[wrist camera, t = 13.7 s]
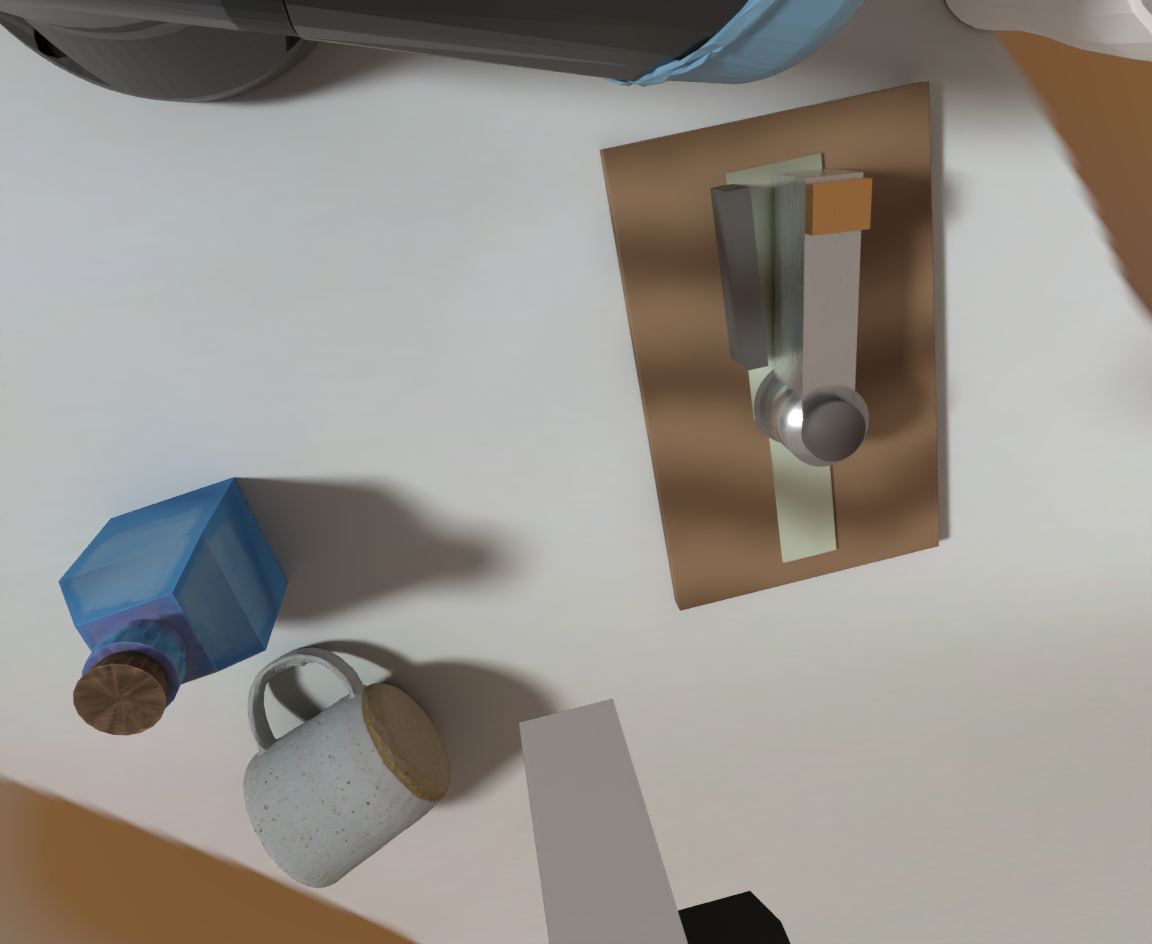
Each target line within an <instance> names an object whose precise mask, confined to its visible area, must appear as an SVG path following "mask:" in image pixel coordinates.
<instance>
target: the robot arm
mask: <svg viewBox="0 0 1152 944" xmlns="http://www.w3.org/2000/svg"><path fill="white" fill-rule="evenodd" d="M865 1H866V0H0V24H1V25H2V26H3V27H4V28H5V29H7V30H8V31H9V32H10V33H11V34H12V35H13V36H15V37H16V38H17V39H18V40H20V41H21V42H22V43H23V44H25V45H26V46H27V47H29V48H30V49H32V50H33V51H35V52H36V53H37V54H39V55H40V56H42V57H43V58H45V59H47V60H48V61H50V62H51V63H53V64H55V65H56V66H58V67H60V68H62V69H64V70H65V71H67V72H69V73H71V74H73V75H75V76H77V77H79V78H81V79H84V80H86V81H88V82H90V83H93V84H95V85H98V86H101V87H103V88H106V89H109V90H112V91H116V92H119V93H122V94H127V95H131V96H136V97H141V98H147V99H154V100H164V101H175V102H203V101H213V100H220V99H225V98H229V97H234V96H238V95H241V94H244V93H247V92H250V91H252V90H255V89H257V88H259V87H262V86H264V85H266V84H268V83H269V82H271V81H273V80H275V79H277V78H278V77H280V76H281V75H283V74H284V73H286V72H287V71H289V70H290V69H291V68H292V67H294V66H295V65H296V64H297V63H299V62H300V61H301V60H302V59H303V58H304V57H305V56H306V55H307V54H308V53H309V52H310V51H311V50H312V49H313V48H314V47H315V45H316V44H317V43H318V42H319V41H321V42H329V43H337V44H344V45H352V46H360V47H368V48H376V49H384V50H391V51H399V52H407V53H415V54H423V55H430V56H438V57H446V58H454V59H462V60H470V61H477V62H485V63H493V64H501V65H509V66H517V67H524V68H532V69H540V70H548V71H556V72H564V73H571V74H579V75H587V76H595V77H603V78H605V79H606V80H608V81H611V82H613V83H616V84H619V85H625V86H630V85H632V84H636V85H640V86H648V85H653V84H658V83H663V82H666V81H688V82H707V83H723V84H741V83H747V82H753V81H757V80H761V79H765V78H768V77H771V76H773V75H776V74H778V73H780V72H782V71H785V70H787V69H788V68H790V67H792V66H794V65H796V64H797V63H799V62H800V61H802V60H803V59H805V58H806V57H808V56H809V55H811V54H812V53H813V52H815V51H816V50H817V49H818V48H820V47H821V46H822V45H823V44H825V43H826V42H827V41H828V40H829V39H830V38H831V37H832V36H833V35H835V34H836V33H837V32H838V31H839V30H840V29H841V28H842V27H843V26H844V25H845V24H846V23H847V22H848V21H849V20H850V19H851V18H852V16H853V15H854V14H855V13H856V12H857V10H858V9H859V8H860V7H861V6H862V5H863V3H864V2H865ZM519 728H520V735H521V742H522V749H523V757H524V764H525V771H526V778H527V786H528V793H529V800H530V807H531V815H532V822H533V829H534V836H535V844H536V851H537V858H538V865H539V873H540V880H541V887H542V894H543V902H544V909H545V916H546V923H547V931H548V938H549V944H790V942H789V939H788V937H787V935H786V932H785V930H784V928H783V925H782V923H781V921H780V920H779V919H778V918H777V917H776V916H775V915H774V914H773V913H772V912H771V911H770V910H769V909H768V908H767V907H766V906H765V905H764V904H763V903H762V902H761V901H760V900H759V899H758V898H757V897H756V896H755V895H754V894H753V893H752V892H751V891H748V892H744V893H740V894H737V895H733V896H729V897H726V898H722V899H719V900H715V901H711V902H708V903H704V904H700V905H697V906H693V907H689V908H686V909H682V910H679V911H678V910H677V907H676V904H675V900H674V897H673V894H672V891H671V887H670V884H669V881H668V878H667V874H666V871H665V868H664V865H663V861H662V858H661V855H660V852H659V848H658V845H657V842H656V839H655V835H654V832H653V829H652V826H651V822H650V819H649V816H648V813H647V809H646V806H645V803H644V800H643V796H642V793H641V790H640V786H639V783H638V780H637V777H636V773H635V770H634V767H633V764H632V760H631V757H630V754H629V751H628V747H627V744H626V741H625V738H624V734H623V731H622V728H621V725H620V721H619V718H618V715H617V712H616V708H615V705H614V702H613V699H609V700H605V701H602V702H598V703H594V704H590V705H586V706H582V707H578V708H574V709H570V710H567V711H563V712H559V713H555V714H551V715H547V716H543V717H539V718H535V719H532V720H528V721H524V722H520V723H519Z"/></svg>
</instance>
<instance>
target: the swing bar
mask: <svg viewBox="0 0 1152 944" xmlns="http://www.w3.org/2000/svg"><path fill="white" fill-rule="evenodd" d="M871 197H872V178H866V177H863V172H858V171H848V170H839V169H830V168H826V169H817V170H807V171H798V172H789V173H780V174H774V378H773V379H772V380H771V381H770V382H769V384H768V385H767V387H766V388H765V390H764V392H763V395H762V398H761V402H760V415H761V420H762V422H763V424H764V426H765V428H766V429H767V430H768V432H770V433H771V434H772V435H773V436H774V437H775V438H776V439H777V440H778V441H779V442H780V443H781V444H782V445H784V446H785V447H786V448H787V449H788V450H789V451H790V452H791V453H792V454H793V455H794V456H796V457H797V458H798V459H799V460H800V461H802V462H804V463H806V464H808V465H811V466H816V467H825V466H831V465H834V464H837V463H840V462H842V461H843V460H845V459H847V458H848V457H847V458H845V459H843V460H840V461H835V462H827V461H823V460H820V459H818V458H817V457H815V456H814V455H813V454H812V453H811V452H810V451H809V450H808V449H807V448H806V447H805V445H804V443H803V440H802V433H801V431H802V425H803V422H804V420H805V418H806V416H807V415H808V413H809V412H810V411H811V410H812V409H813V408H814V407H815V406H817V405H818V404H820V403H822V402H824V401H827V400H831V399H840V400H844V401H846V402H848V403H850V404H851V405H853V406H854V407H856V408H857V409H858V410H859V411H860V412H861V413H862V415H863V417H864V419H865V424H866V431H865V436H866V433H867V430H868V426H869V412H868V408H867V405H866V403H865V401H864V399H863V398H862V397H861V395H860V394H859V393H857V392H856V391H855V377H856V351H857V325H858V299H859V274H860V248H861V230H866V229H870V220H871ZM865 436H864V438H865ZM863 440H864V439H863ZM862 442H863V441H862ZM850 456H851V455H850Z"/></svg>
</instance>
